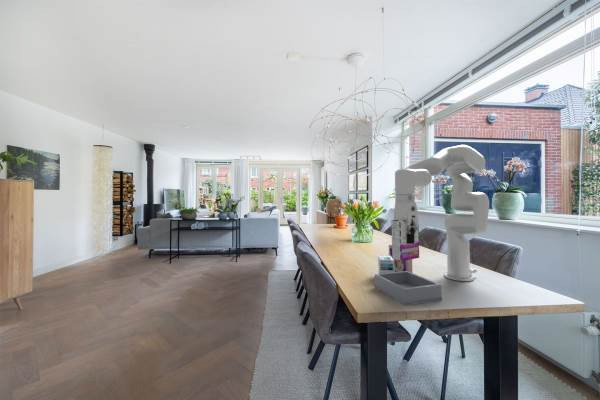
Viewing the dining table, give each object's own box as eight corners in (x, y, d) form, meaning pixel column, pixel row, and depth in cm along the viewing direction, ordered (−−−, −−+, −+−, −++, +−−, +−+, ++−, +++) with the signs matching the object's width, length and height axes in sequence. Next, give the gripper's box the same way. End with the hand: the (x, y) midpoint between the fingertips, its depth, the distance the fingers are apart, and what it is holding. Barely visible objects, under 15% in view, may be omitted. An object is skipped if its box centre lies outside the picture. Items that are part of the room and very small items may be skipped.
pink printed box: (387, 273, 136) (387, 245, 136) (396, 270, 140) (396, 243, 140) (407, 278, 126) (406, 248, 126) (416, 276, 130) (415, 246, 130)
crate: (407, 283, 119) (406, 270, 119) (441, 300, 100) (441, 284, 100) (374, 287, 114) (374, 274, 114) (404, 305, 95) (404, 289, 95)
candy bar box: (409, 255, 112) (409, 218, 112) (419, 258, 107) (419, 219, 107) (391, 259, 106) (390, 219, 106) (400, 261, 102) (400, 220, 102)
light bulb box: (395, 283, 120) (394, 260, 120) (380, 282, 122) (380, 259, 122) (391, 276, 131) (391, 255, 131) (378, 275, 132) (377, 254, 132)
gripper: (427, 198, 99) (428, 245, 100) (399, 198, 116) (399, 238, 116) (411, 199, 97) (412, 246, 98) (384, 199, 114) (385, 239, 114)
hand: (405, 241), depth 107 cm, fingers closed on candy bar box, 5 cm apart
